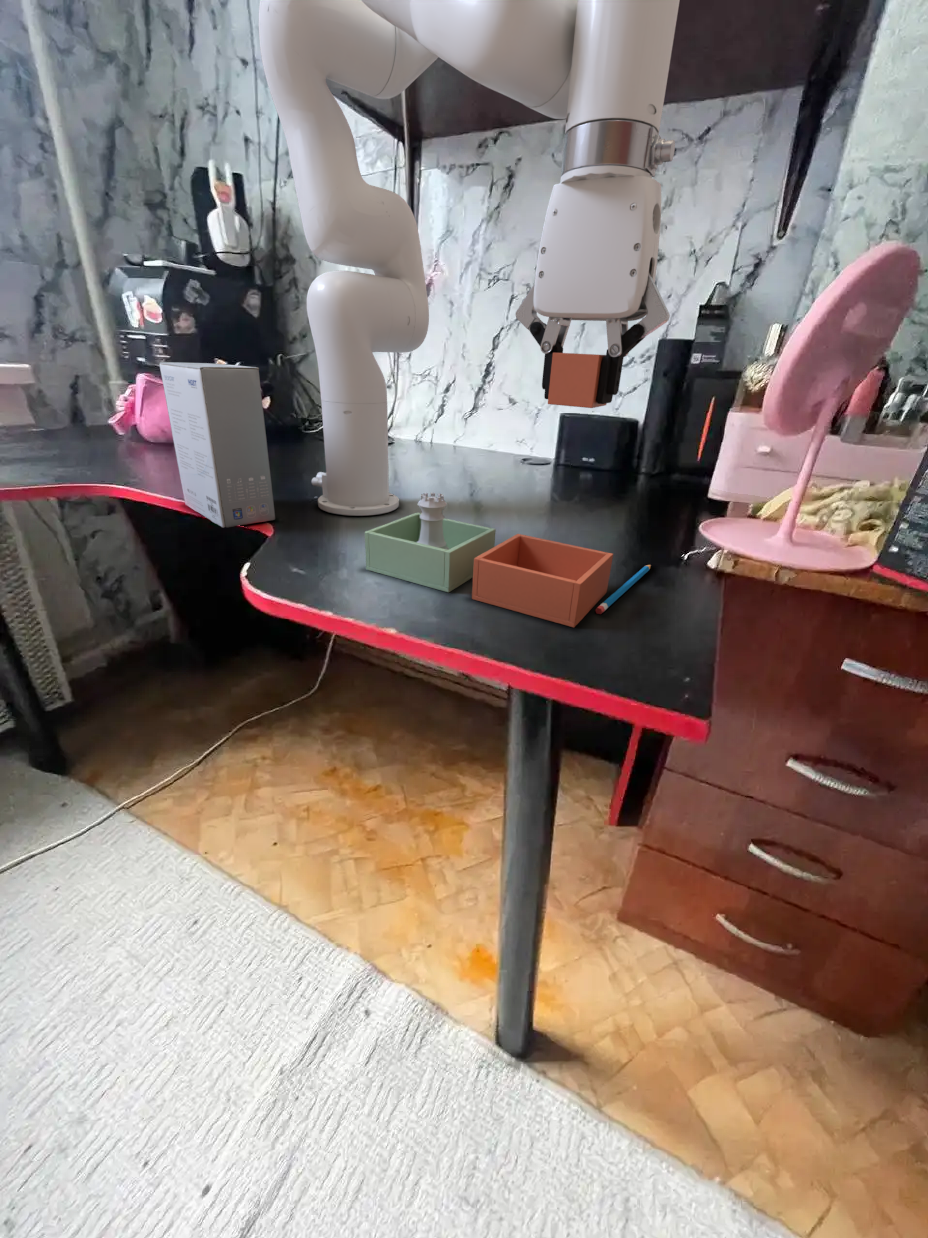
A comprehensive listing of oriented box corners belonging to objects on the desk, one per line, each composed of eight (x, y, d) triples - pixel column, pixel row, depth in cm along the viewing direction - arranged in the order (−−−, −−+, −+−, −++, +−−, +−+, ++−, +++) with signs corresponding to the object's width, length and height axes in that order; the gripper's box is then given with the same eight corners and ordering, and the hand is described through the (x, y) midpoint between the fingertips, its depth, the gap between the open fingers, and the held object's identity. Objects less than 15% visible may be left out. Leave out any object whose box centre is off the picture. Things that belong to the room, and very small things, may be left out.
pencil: (594, 613, 55) (595, 607, 55) (647, 566, 68) (647, 561, 68) (602, 615, 55) (603, 609, 54) (653, 568, 67) (654, 562, 67)
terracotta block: (547, 404, 53) (552, 352, 51) (563, 401, 56) (569, 353, 54) (592, 408, 51) (599, 354, 49) (606, 405, 54) (613, 355, 52)
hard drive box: (277, 521, 78) (260, 367, 69) (223, 530, 73) (197, 366, 64) (233, 498, 88) (213, 361, 79) (182, 505, 83) (155, 360, 74)
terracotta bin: (471, 599, 57) (473, 558, 55) (514, 570, 65) (517, 533, 63) (574, 627, 52) (580, 584, 50) (606, 592, 60) (613, 553, 58)
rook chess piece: (445, 572, 62) (447, 501, 58) (407, 567, 62) (407, 498, 59) (454, 559, 66) (456, 492, 62) (418, 555, 66) (418, 489, 63)
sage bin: (365, 569, 63) (364, 531, 61) (416, 546, 71) (417, 512, 69) (448, 592, 58) (450, 552, 56) (493, 565, 66) (495, 528, 64)
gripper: (721, 167, 45) (674, 405, 53) (532, 185, 52) (516, 392, 60) (708, 137, 39) (657, 411, 47) (496, 162, 46) (483, 395, 54)
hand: (578, 398), depth 53 cm, fingers closed on terracotta block, 4 cm apart
